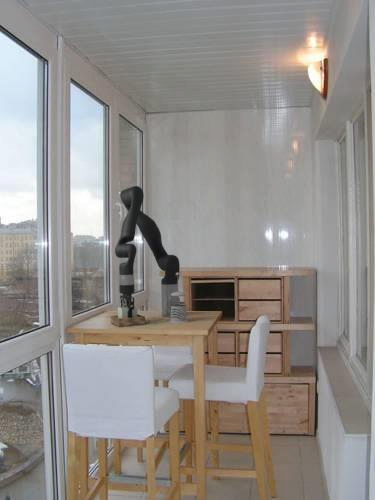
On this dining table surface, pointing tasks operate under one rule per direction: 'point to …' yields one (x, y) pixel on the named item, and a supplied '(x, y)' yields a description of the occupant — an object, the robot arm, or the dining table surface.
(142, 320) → the brown flat block
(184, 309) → the french press
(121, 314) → the small crate
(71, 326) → the dining table surface
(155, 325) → the dining table surface
